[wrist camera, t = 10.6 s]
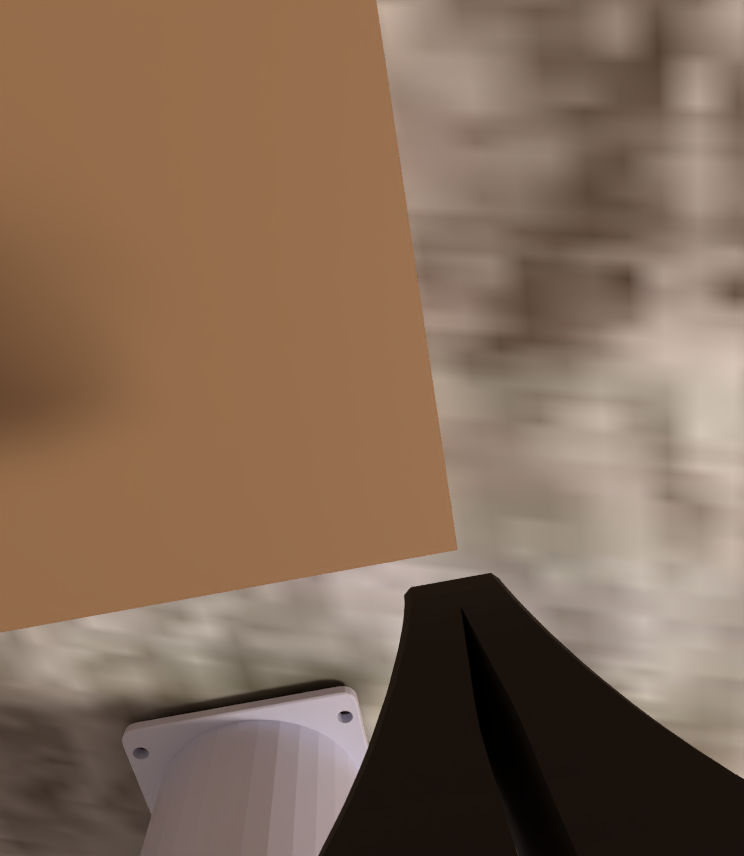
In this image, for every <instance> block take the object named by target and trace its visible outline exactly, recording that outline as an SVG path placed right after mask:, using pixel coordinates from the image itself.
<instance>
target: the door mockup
mask: <svg viewBox="0 0 744 856" xmlns="http://www.w3.org/2000/svg"><path fill="white" fill-rule="evenodd" d="M453 550H457V543H456V536H455V529H454V523H453V516H452V509H451V502H450V496H449V489H448V482H447V475H446V469H445V462H444V455H443V448H442V442H441V435H440V428H439V421H438V415H437V408H436V401H435V395H434V388H433V381H432V374H431V368H430V361H429V354H428V347H427V341H426V334H425V327H424V320H423V314H422V307H421V300H420V293H419V287H418V280H417V273H416V266H415V260H414V253H413V246H412V239H411V233H410V226H409V219H408V212H407V206H406V199H405V192H404V185H403V179H402V172H401V165H400V158H399V152H398V145H397V138H396V131H395V125H394V118H393V111H392V105H391V98H390V91H389V84H388V78H387V71H386V64H385V57H384V51H383V44H382V37H381V30H380V24H379V17H378V10H377V3H376V0H0V632H5V631H11V630H17V629H22V628H28V627H33V626H39V625H44V624H50V623H55V622H61V621H66V620H72V619H77V618H83V617H88V616H94V615H99V614H105V613H110V612H116V611H122V610H127V609H133V608H138V607H144V606H149V605H155V604H160V603H166V602H171V601H177V600H182V599H188V598H193V597H199V596H204V595H210V594H215V593H221V592H227V591H232V590H238V589H243V588H249V587H254V586H260V585H265V584H271V583H276V582H282V581H287V580H293V579H298V578H304V577H309V576H315V575H320V574H326V573H332V572H337V571H343V570H348V569H354V568H359V567H365V566H370V565H376V564H381V563H387V562H392V561H398V560H403V559H409V558H414V557H420V556H425V555H431V554H437V553H442V552H448V551H453Z"/></svg>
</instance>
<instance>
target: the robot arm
mask: <svg viewBox="0 0 744 856" xmlns="http://www.w3.org/2000/svg"><path fill="white" fill-rule="evenodd" d="M404 600H405V608H404V619H403V627H402V632H401V638H400V643H399V648H398V652H397V656H396V660H395V664H394V668H393V672H392V676H391V680H390V683H389V687H388V690H387V694H386V697H385V700H384V703H383V706H382V709H381V712H380V715H379V718H378V720H377V723H376V726H375V729H374V732H373V735H372V738H371V741H370V743H369V746H368V742H367V738H366V733H365V729H364V725H363V720H362V716H361V712H360V707H359V703H358V699H357V695H356V693H355V691H354V690H353V689H351V688H349V687H346V686H338V687H333V688H327V689H321V690H316V691H310V692H305V693H299V694H294V695H288V696H282V697H277V698H271V699H266V700H260V701H254V702H249V703H243V704H238V705H232V706H227V707H221V708H215V709H210V710H204V711H199V712H193V713H187V714H182V715H176V716H171V717H165V718H159V719H154V720H148V721H143V722H137V723H133V724H130V725H129V726H128V727H127V728H126V729H125V732H124V734H123V737H122V744H123V747H124V749H125V752H126V754H127V757H128V759H129V762H130V764H131V767H132V769H133V772H134V774H135V776H136V779H137V781H138V784H139V786H140V789H141V791H142V794H143V796H144V799H145V801H146V804H147V806H148V808H149V811H150V813H151V819H150V822H149V826H148V829H147V833H146V836H145V840H144V843H143V847H142V850H141V854H140V856H744V779H743V778H741V777H740V776H738V775H736V774H734V773H733V772H731V771H730V770H728V769H727V768H725V767H723V766H722V765H720V764H719V763H717V762H716V761H714V760H713V759H711V758H709V757H708V756H706V755H705V754H703V753H702V752H700V751H699V750H697V749H696V748H694V747H693V746H691V745H690V744H688V743H687V742H685V741H684V740H683V739H681V738H680V737H678V736H677V735H675V734H674V733H672V732H671V731H670V730H668V729H667V728H665V727H664V726H662V725H661V724H660V723H658V722H657V721H655V720H654V719H653V718H651V717H650V716H649V715H647V714H646V713H645V712H643V711H642V710H641V709H639V708H638V707H637V706H635V705H634V704H633V703H632V702H630V701H629V700H628V699H626V698H625V697H624V696H623V695H621V694H620V693H619V692H618V691H616V690H615V689H614V688H613V687H611V686H610V685H609V684H608V683H607V682H605V681H604V680H603V679H602V678H600V677H599V676H598V675H597V674H596V673H594V672H593V671H592V670H591V669H590V668H589V667H587V666H586V665H585V664H584V663H583V662H582V661H581V660H579V659H578V658H577V657H576V656H575V655H574V654H573V653H572V652H571V651H570V650H568V649H567V648H566V647H565V646H564V645H563V644H562V643H561V642H560V641H559V640H557V639H556V638H555V637H554V636H553V635H552V634H551V633H550V632H549V631H548V630H547V629H546V628H545V627H544V626H543V625H542V624H541V623H540V622H539V621H538V620H537V619H536V618H535V617H534V616H533V615H532V614H531V613H530V612H529V611H528V610H527V609H526V608H525V607H524V606H523V605H522V604H521V603H520V602H519V601H518V600H517V599H516V598H515V596H514V595H513V594H512V593H511V592H510V591H509V590H508V589H507V587H506V586H505V585H504V584H503V583H502V582H501V580H500V579H499V578H498V577H496V576H495V575H493V574H492V573H488V574H482V575H477V576H471V577H466V578H460V579H455V580H449V581H443V582H438V583H432V584H427V585H421V586H416V587H411V588H410V589H409V590H408V591H407V592H406V594H405V595H404ZM342 711H349V712H350V713H348V714H341V713H340V712H342ZM138 747H139V748H145V749H147V750H141V749H139V748H138ZM515 847H516V848H515ZM516 850H517V851H516ZM517 853H518V854H517Z"/></svg>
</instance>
